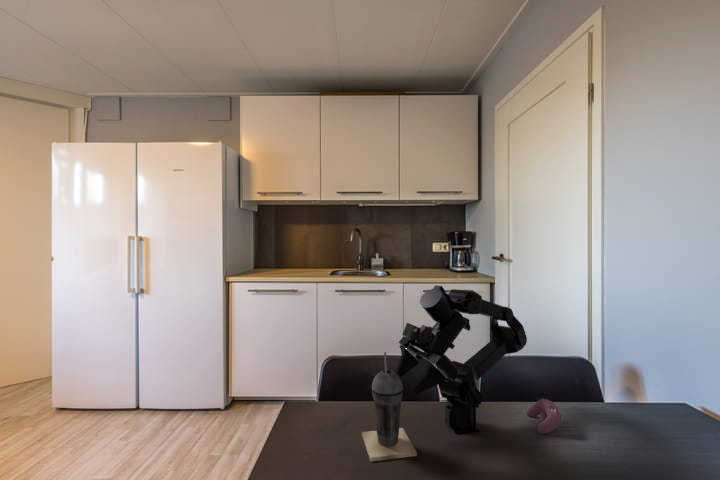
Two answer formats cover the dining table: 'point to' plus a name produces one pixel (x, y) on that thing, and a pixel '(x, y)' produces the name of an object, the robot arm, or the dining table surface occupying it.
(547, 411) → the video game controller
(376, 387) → the beverage cup
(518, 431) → the dining table surface
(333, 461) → the dining table surface
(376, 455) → the coaster board
